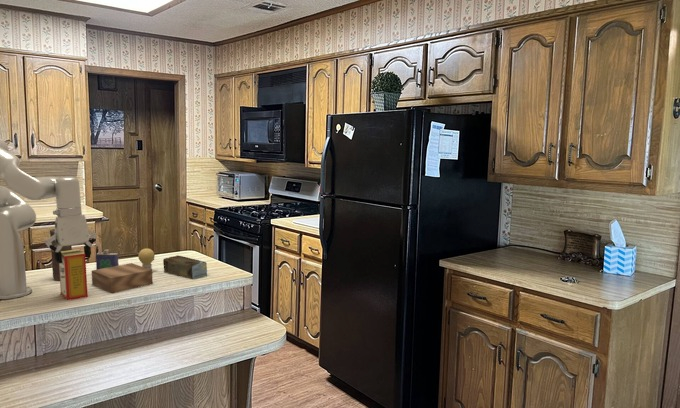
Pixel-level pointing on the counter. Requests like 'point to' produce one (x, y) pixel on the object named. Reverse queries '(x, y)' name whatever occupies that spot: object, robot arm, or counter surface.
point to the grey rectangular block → (185, 267)
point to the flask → (106, 260)
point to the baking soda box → (73, 275)
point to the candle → (54, 264)
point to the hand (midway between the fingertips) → (73, 259)
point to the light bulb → (146, 257)
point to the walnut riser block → (121, 277)
